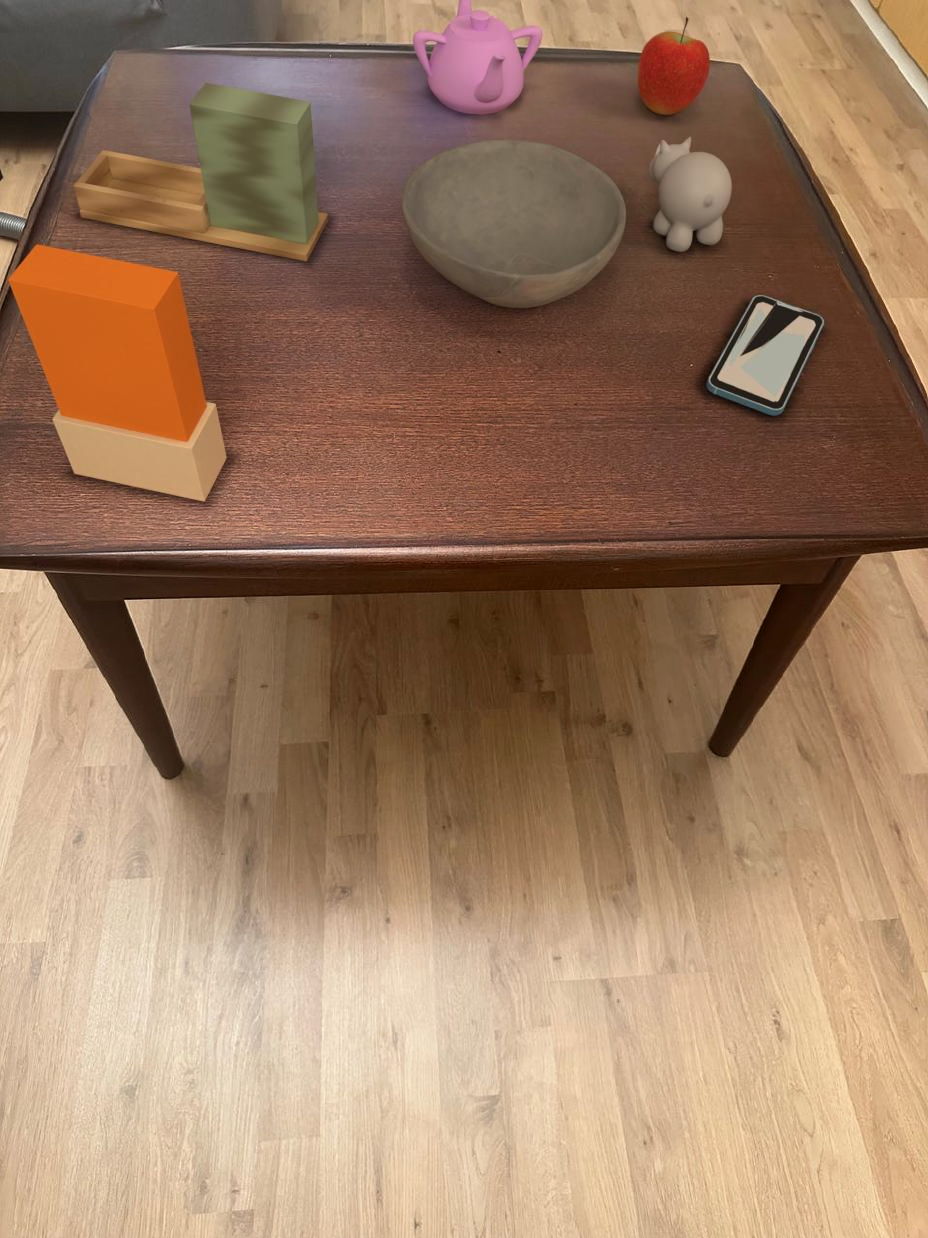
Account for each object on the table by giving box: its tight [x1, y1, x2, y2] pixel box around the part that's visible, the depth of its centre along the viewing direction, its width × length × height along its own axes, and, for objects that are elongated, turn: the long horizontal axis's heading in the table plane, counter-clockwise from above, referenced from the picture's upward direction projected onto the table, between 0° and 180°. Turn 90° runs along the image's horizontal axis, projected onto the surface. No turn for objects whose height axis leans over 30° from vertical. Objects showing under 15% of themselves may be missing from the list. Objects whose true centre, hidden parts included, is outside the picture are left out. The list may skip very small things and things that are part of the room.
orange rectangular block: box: [7, 244, 207, 442], centre depth 67 cm, size 10×4×12 cm, turn 77°
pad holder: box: [72, 82, 329, 262], centre depth 90 cm, size 24×7×13 cm, turn 77°
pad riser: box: [52, 401, 227, 502], centre depth 74 cm, size 11×5×6 cm, turn 77°
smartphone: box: [705, 294, 825, 416], centre depth 89 cm, size 7×1×15 cm
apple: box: [637, 16, 711, 116], centre depth 109 cm, size 8×8×10 cm
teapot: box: [412, 0, 543, 115], centre depth 109 cm, size 12×14×9 cm
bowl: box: [400, 139, 627, 309], centre depth 90 cm, size 21×21×8 cm
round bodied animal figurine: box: [647, 136, 733, 253], centre depth 97 cm, size 7×12×8 cm, turn 18°
